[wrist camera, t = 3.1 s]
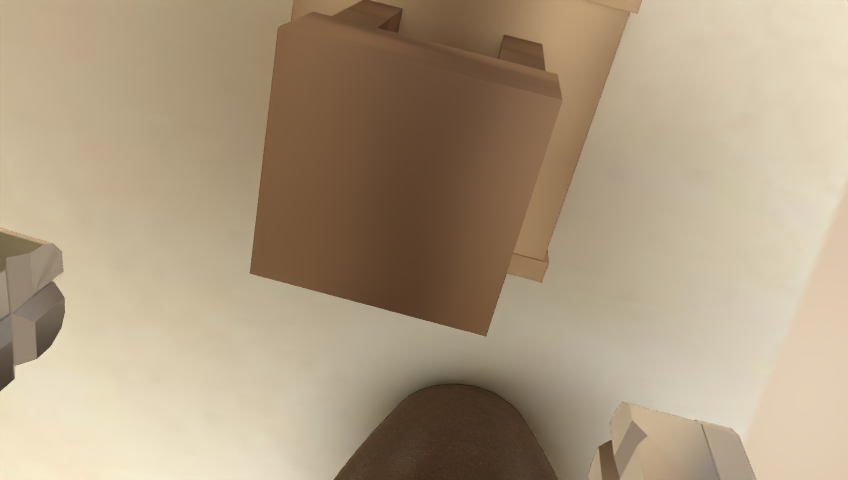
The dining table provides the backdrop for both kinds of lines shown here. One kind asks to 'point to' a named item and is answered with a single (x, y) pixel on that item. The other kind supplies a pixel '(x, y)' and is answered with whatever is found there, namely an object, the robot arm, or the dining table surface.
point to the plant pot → (450, 440)
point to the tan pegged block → (399, 164)
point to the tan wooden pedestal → (563, 54)
